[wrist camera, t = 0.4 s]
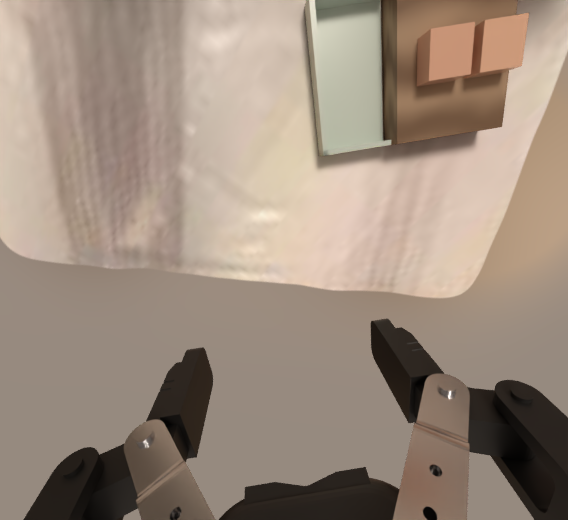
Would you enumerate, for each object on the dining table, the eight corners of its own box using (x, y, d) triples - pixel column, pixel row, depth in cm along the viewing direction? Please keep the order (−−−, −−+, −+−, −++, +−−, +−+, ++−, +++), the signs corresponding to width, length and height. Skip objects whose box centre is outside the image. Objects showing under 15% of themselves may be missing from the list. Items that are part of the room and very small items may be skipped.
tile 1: (417, 38, 29) (430, 28, 27) (458, 32, 29) (475, 21, 27) (416, 86, 31) (428, 81, 29) (455, 80, 31) (470, 74, 29)
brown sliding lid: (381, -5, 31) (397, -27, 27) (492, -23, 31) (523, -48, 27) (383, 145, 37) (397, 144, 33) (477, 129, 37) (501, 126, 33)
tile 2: (467, 30, 29) (484, 19, 27) (508, 24, 29) (529, 12, 27) (463, 79, 31) (480, 72, 29) (502, 72, 31) (521, 65, 29)
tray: (304, 7, 31) (308, -8, 28) (378, -5, 31) (389, -21, 28) (319, 156, 37) (323, 156, 34) (381, 145, 37) (391, 144, 34)
